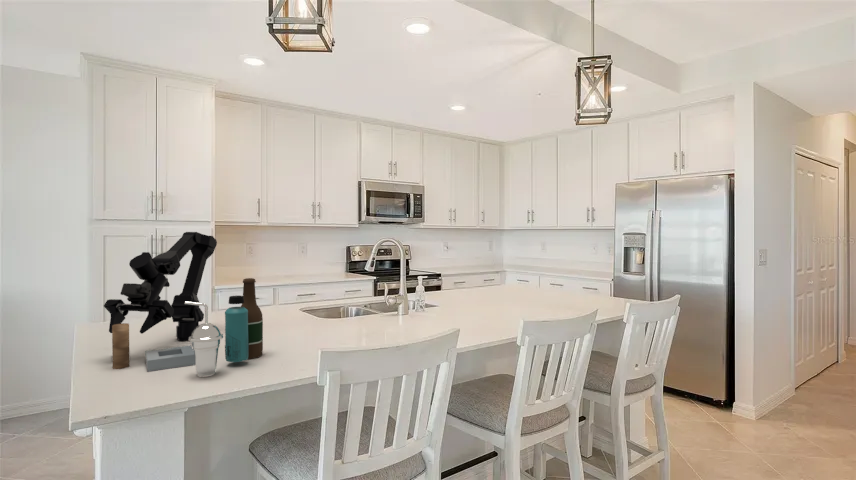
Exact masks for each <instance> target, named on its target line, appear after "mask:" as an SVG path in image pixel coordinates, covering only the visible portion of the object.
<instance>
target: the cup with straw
mask: <svg viewBox="0 0 856 480" xmlns="http://www.w3.org/2000/svg"><path fill="white" fill-rule="evenodd" d="M185 304H190V305H199V307H204V323H201V324H199V326H197V327H196V328H195V329H194V331H193V333H192V335H191V336H190V337H189V340H188V341H189V342H190V343H191V347H192V349H193V350H194V356H195V364H196V365H195V372H196V373H197V374H196V377H198V378H199V377H200V378H206V377H211V376H214V375H215V374H216V369H217V363H218V356H219V347H220V345H221V340H222V339H223V338H224V334H223V333H222V332H221V331H220V329H219V328H218V326H217V325H216V324H214V323H210V322H209V311H208V309H209V308H208V307H209V306H208V305H207V304H206V303H205V302H200V303H196V302H187V301H185Z"/></svg>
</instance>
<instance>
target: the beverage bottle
mask: <svg viewBox="0 0 856 480" xmlns="http://www.w3.org/2000/svg"><path fill="white" fill-rule="evenodd" d="M242 303H244V297H243V295H230V296H229V297H228V305H242ZM224 321H225V323H224V325H225V326H224V331H225V332H224V334H225V335H224V339H225V340H224V357H225V360H226V362H229V363H238V362H239V363H240V362H245V361H247V360H249V359H248V357H249V349H248V347H249V346H248V345H249V343H248V337H249V335H248V310H247V309H246V308H245V307H241V306H231V307H228V308H227V309H226V310H225V311H224Z"/></svg>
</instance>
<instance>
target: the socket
mask: <svg viewBox="0 0 856 480" xmlns="http://www.w3.org/2000/svg"><path fill="white" fill-rule="evenodd" d="M144 353H145V356H144V358H145V361H144V362H145V367H146V371H147V372H148V373H149V372H153V371H154V372H155V371H160V370H169V369H174V368H175V369H176V368H181V367H188V366H196V364H195V356H194V350H193V347H192V344H191V345H183V346H182V345H181V346H175V347H174V346H173V347H166V348H157V349H149V350H145V351H144Z"/></svg>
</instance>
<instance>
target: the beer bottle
mask: <svg viewBox="0 0 856 480" xmlns="http://www.w3.org/2000/svg"><path fill="white" fill-rule="evenodd" d="M256 283H257V281H256V279H255V278H253V277H250V278H249V277H248V278H244V279H243V280H242V284H243V285H242V288H243V289H242V296H243V297H244V303H242V304H240V307H245V308H246V309H247V310H248V335H249V337H248V343H249V345H248V346H249V347H248V349H249V357H248V359H247V360H252V359H257V358H259V357H261V356H262V355H263V352H264V351H263V348H264V346H263V345H264V343H263V342H264V341H263V340H264V337H263V335H264V333H263V331H264V326H263V325H264V324H263V322H264V320H263V319H264V318H263V313H262V310H261V308H260V307H259V306H258V304H257V297H256V285H255V284H256Z"/></svg>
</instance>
